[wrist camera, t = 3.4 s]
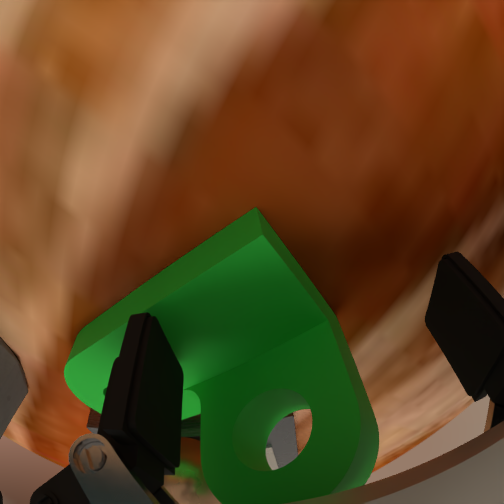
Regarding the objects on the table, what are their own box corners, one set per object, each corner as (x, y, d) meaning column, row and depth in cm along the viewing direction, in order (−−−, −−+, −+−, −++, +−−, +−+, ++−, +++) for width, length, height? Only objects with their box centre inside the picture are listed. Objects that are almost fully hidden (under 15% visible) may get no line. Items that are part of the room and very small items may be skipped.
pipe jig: (91, 407, 15) (71, 515, 9) (289, 392, 15) (313, 523, 9) (192, 492, 26) (194, 548, 20) (299, 482, 26) (309, 540, 20)
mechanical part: (255, 204, 10) (316, 470, 3) (334, 312, 13) (399, 491, 6) (56, 346, 13) (10, 488, 6) (141, 404, 16) (129, 531, 9)
